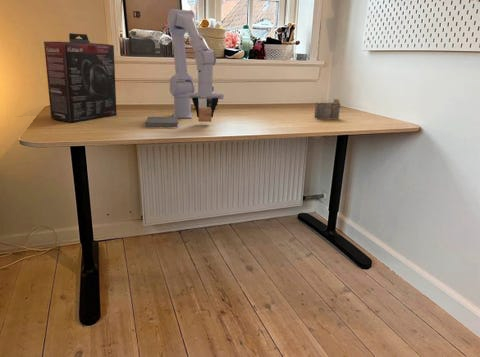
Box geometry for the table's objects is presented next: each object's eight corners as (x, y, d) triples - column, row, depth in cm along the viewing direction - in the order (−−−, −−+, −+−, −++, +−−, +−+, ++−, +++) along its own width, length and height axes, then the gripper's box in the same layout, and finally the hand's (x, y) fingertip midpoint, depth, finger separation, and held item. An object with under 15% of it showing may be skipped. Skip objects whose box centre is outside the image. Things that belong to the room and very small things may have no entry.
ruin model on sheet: (335, 118, 187) (338, 98, 184) (338, 119, 184) (340, 99, 181) (313, 118, 184) (315, 98, 181) (316, 119, 182) (318, 99, 178)
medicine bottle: (206, 109, 194) (207, 85, 190) (198, 107, 198) (198, 83, 194) (217, 108, 198) (218, 84, 194) (209, 106, 203) (209, 83, 199)
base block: (148, 122, 159) (147, 116, 158) (177, 123, 161) (177, 117, 160) (145, 128, 148) (145, 122, 147) (177, 129, 150) (177, 122, 149)
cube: (198, 119, 158) (198, 107, 156) (210, 119, 159) (210, 107, 157) (198, 121, 153) (198, 109, 152) (211, 121, 154) (211, 109, 152)
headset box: (98, 112, 175) (92, 34, 164) (119, 115, 169) (114, 35, 158) (50, 119, 154) (39, 31, 143) (72, 123, 149) (62, 32, 138)
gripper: (186, 82, 146) (186, 118, 151) (224, 84, 148) (223, 119, 153) (186, 81, 153) (186, 115, 157) (222, 82, 155) (221, 115, 159)
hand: (204, 116), depth 156 cm, fingers closed on cube, 5 cm apart
